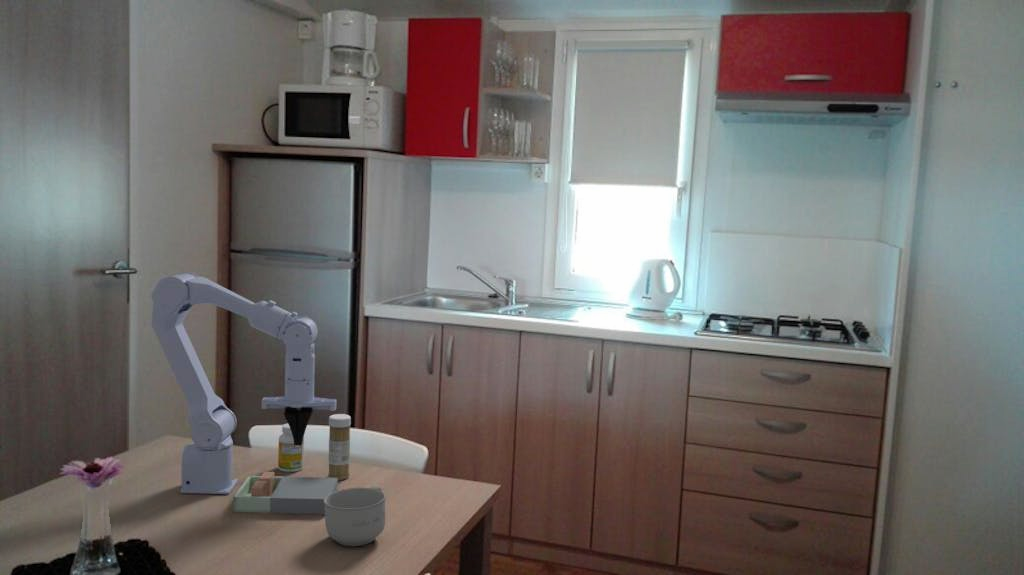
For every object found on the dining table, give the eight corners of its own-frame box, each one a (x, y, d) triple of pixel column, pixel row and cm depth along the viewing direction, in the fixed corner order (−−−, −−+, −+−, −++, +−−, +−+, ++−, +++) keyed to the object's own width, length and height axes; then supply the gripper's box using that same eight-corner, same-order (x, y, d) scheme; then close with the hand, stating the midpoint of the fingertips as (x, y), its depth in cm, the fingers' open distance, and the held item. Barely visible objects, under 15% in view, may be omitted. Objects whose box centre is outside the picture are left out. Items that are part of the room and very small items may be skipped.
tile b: (261, 508, 162) (251, 508, 162) (266, 500, 166) (256, 500, 166) (262, 488, 162) (251, 487, 162) (266, 480, 166) (256, 480, 166)
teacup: (356, 557, 144) (357, 512, 143) (309, 541, 149) (310, 497, 149) (408, 532, 156) (409, 489, 155) (363, 517, 161) (364, 476, 160)
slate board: (269, 513, 161) (270, 497, 161) (282, 490, 173) (282, 476, 173) (328, 514, 162) (329, 499, 162) (337, 492, 174) (337, 477, 173)
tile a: (269, 498, 168) (259, 498, 167) (274, 491, 172) (264, 490, 171) (270, 478, 167) (259, 478, 167) (274, 471, 171) (264, 471, 171)
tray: (233, 512, 161) (233, 497, 160) (248, 490, 173) (248, 475, 172) (269, 513, 161) (270, 497, 161) (282, 490, 173) (282, 476, 173)
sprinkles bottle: (343, 472, 186) (344, 412, 184) (353, 478, 182) (354, 417, 181) (323, 476, 183) (325, 414, 181) (333, 482, 179) (335, 420, 178)
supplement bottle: (284, 463, 190) (285, 421, 189) (307, 465, 189) (308, 423, 188) (274, 471, 185) (274, 427, 183) (297, 473, 184) (298, 429, 183)
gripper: (258, 381, 166) (257, 448, 168) (333, 383, 167) (332, 450, 169) (266, 373, 173) (265, 438, 175) (338, 375, 174) (336, 440, 176)
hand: (298, 443), depth 172 cm, fingers closed
